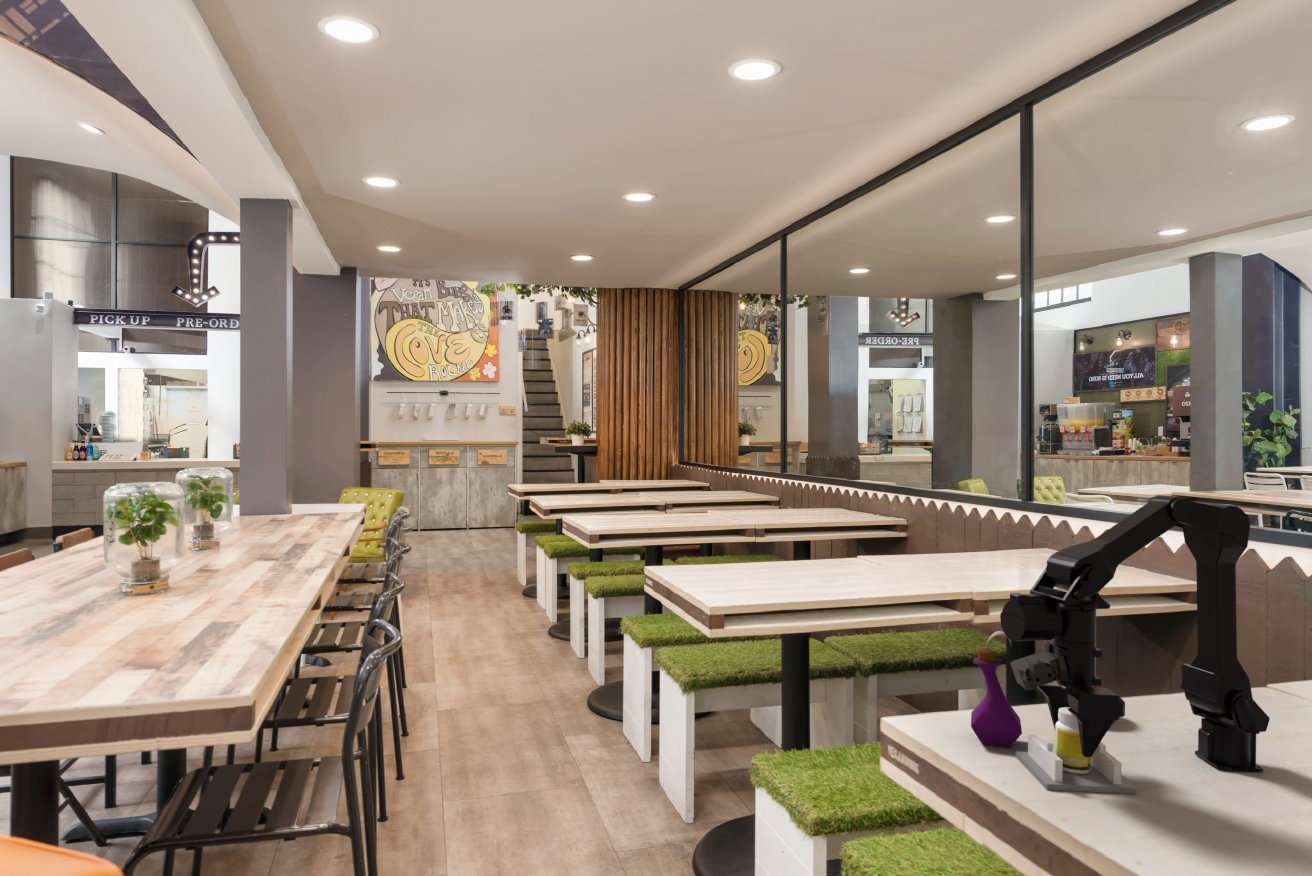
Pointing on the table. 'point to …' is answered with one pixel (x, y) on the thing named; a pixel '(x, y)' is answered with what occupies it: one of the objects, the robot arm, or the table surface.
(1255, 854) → the table surface
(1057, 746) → the supplement bottle
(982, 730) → the purple potion bottle
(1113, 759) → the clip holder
